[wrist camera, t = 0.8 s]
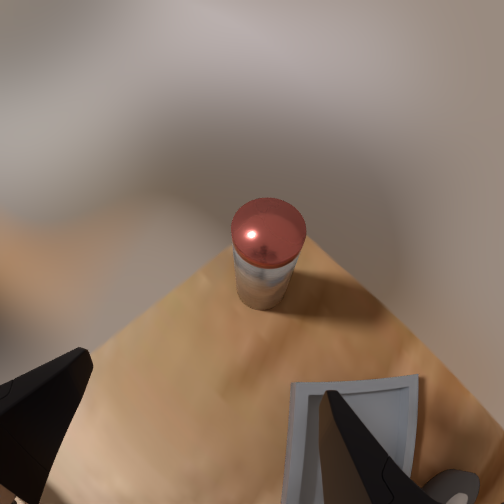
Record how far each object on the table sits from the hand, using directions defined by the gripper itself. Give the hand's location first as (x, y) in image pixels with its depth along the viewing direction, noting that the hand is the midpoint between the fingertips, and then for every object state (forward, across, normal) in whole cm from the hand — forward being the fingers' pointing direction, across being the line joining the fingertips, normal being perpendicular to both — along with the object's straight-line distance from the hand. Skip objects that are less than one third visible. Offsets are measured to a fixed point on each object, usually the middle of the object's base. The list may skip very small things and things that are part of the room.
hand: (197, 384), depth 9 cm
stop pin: (+16, -2, +4) cm, 17 cm away
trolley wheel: (-2, -24, +20) cm, 31 cm away
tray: (+4, -11, +15) cm, 19 cm away
